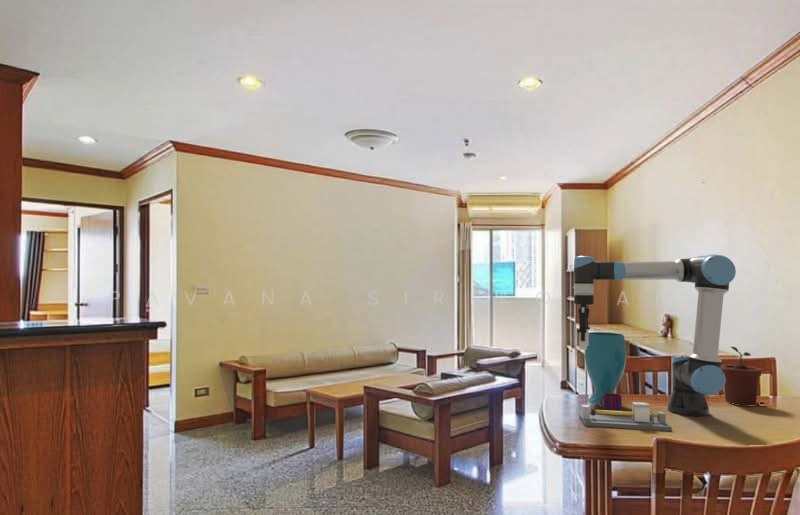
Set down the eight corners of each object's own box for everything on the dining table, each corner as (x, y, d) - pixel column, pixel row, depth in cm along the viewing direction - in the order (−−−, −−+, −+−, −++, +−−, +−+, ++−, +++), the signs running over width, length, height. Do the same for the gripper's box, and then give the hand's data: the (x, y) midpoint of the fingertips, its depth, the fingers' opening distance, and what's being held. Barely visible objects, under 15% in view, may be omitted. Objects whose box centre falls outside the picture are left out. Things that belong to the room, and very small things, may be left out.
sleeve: (645, 419, 204) (645, 402, 204) (649, 422, 200) (649, 405, 200) (631, 418, 205) (631, 401, 205) (635, 421, 200) (635, 404, 201)
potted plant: (709, 400, 248) (709, 345, 249) (738, 396, 257) (738, 343, 258) (748, 409, 232) (748, 350, 233) (778, 404, 242) (777, 348, 243)
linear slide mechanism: (661, 422, 207) (661, 406, 207) (671, 431, 195) (671, 414, 195) (579, 417, 211) (579, 402, 211) (585, 425, 199) (585, 409, 200)
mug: (624, 413, 220) (625, 396, 221) (604, 414, 217) (605, 397, 217) (613, 409, 227) (613, 392, 227) (593, 410, 223) (593, 394, 224)
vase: (586, 405, 233) (587, 335, 234) (582, 396, 250) (582, 331, 251) (629, 408, 229) (629, 336, 230) (621, 399, 246) (622, 332, 247)
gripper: (576, 293, 231) (576, 343, 230) (571, 295, 208) (571, 350, 207) (594, 293, 228) (595, 344, 228) (592, 295, 205) (592, 351, 205)
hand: (584, 347), depth 218 cm, fingers open, 13 cm apart
